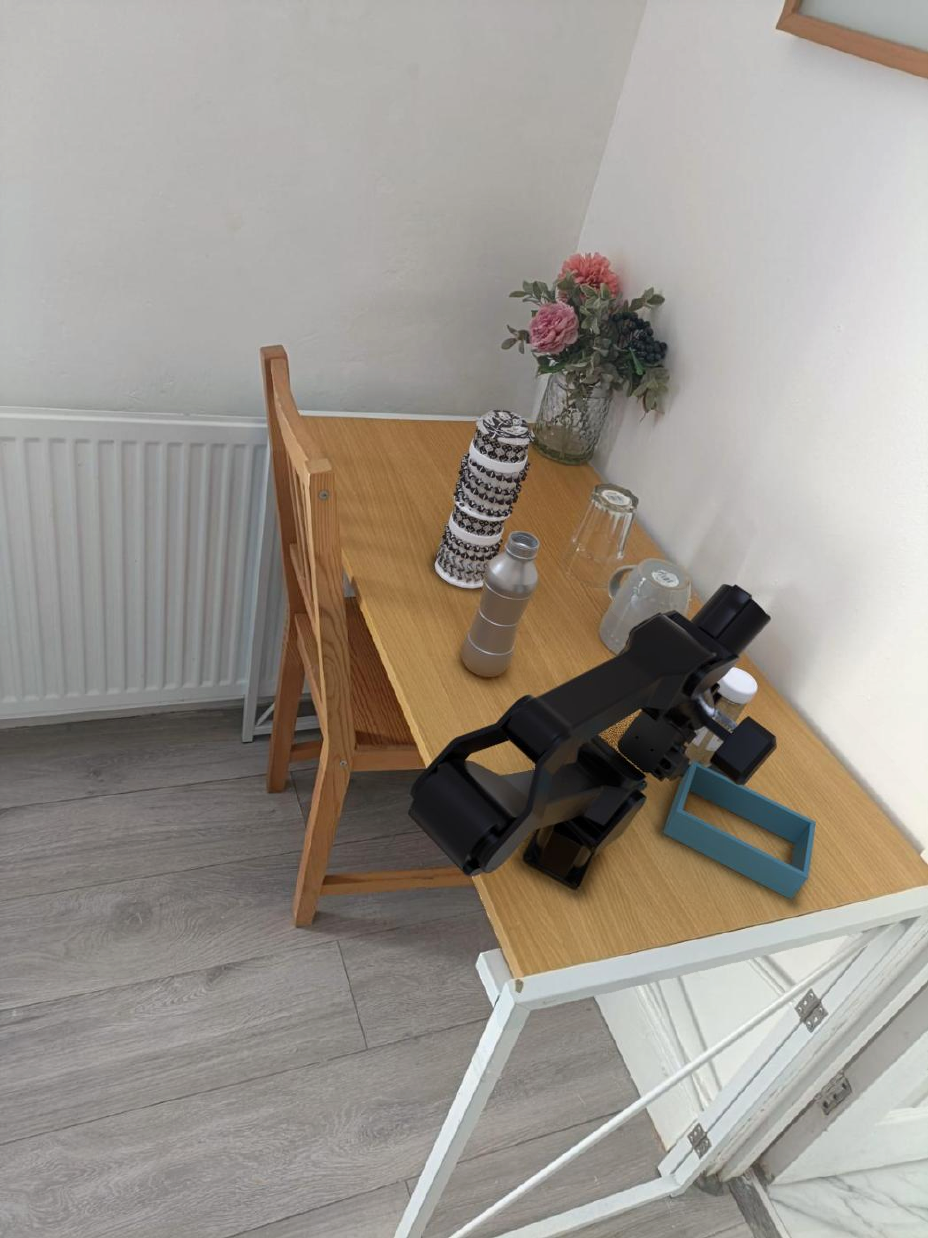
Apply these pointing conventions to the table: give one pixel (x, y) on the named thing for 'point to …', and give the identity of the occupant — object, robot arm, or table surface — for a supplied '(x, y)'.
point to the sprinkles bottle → (736, 695)
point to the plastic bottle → (501, 606)
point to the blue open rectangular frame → (734, 849)
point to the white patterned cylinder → (484, 497)
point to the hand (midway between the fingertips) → (694, 726)
